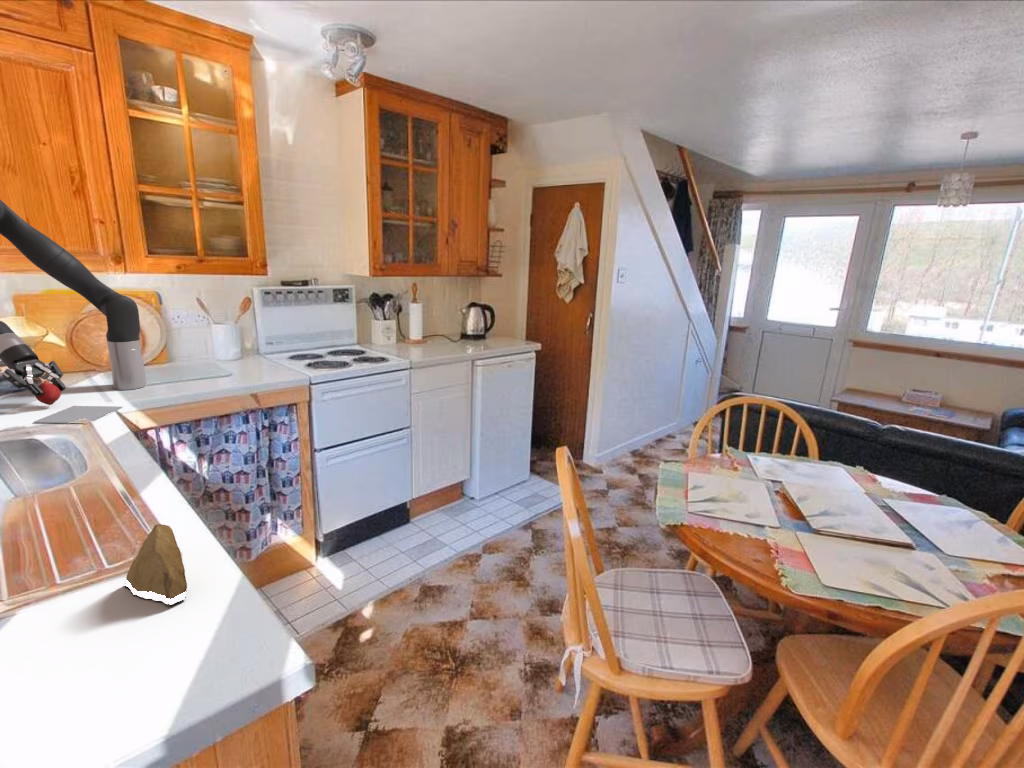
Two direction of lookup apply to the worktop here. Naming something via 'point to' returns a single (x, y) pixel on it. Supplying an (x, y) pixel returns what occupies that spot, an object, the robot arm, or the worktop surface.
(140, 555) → the rock
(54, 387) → the onion
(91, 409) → the mat
